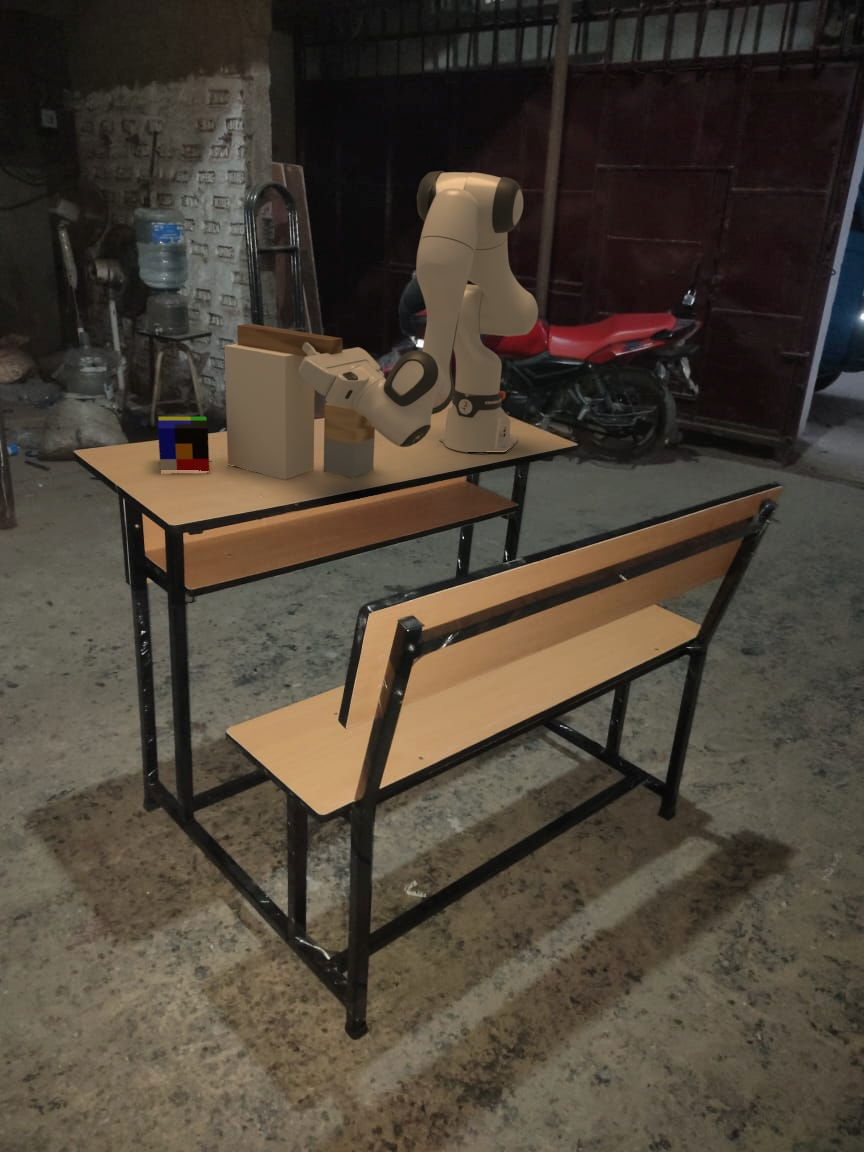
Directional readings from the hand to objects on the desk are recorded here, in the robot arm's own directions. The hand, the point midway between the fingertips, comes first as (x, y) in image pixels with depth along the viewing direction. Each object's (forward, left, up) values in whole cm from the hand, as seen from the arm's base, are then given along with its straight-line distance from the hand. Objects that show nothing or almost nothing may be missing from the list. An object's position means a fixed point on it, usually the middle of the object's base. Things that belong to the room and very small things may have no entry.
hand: (313, 343), depth 174 cm
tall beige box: (0, -11, -28) cm, 31 cm away
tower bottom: (-10, +3, -29) cm, 30 cm away
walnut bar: (0, -6, -2) cm, 7 cm away
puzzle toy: (+12, -25, -29) cm, 40 cm away
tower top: (-10, +3, -21) cm, 23 cm away
